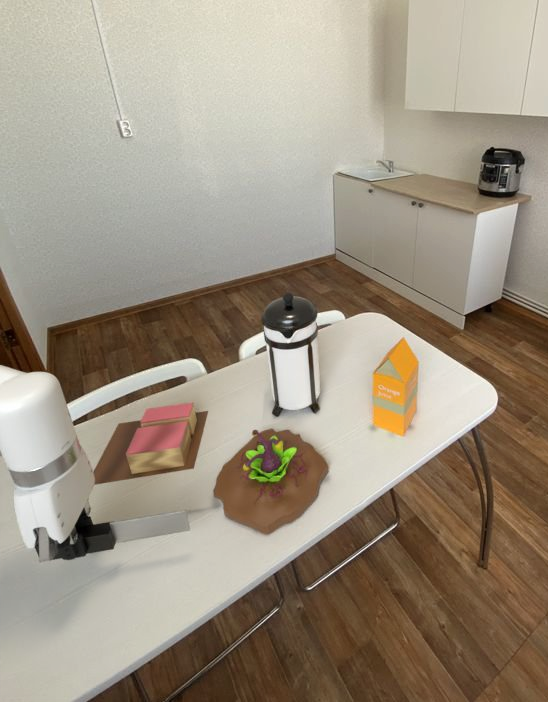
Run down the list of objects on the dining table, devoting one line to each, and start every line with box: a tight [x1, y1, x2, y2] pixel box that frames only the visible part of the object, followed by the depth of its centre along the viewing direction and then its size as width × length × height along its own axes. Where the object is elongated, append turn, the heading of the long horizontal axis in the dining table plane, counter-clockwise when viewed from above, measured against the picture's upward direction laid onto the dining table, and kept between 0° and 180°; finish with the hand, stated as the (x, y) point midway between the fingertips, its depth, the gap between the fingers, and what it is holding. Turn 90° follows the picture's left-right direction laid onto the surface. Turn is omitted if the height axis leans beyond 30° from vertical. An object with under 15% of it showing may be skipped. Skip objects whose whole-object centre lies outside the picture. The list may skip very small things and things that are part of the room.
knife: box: [34, 509, 191, 561], centre depth 59 cm, size 21×2×4 cm, turn 100°
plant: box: [212, 428, 329, 536], centre depth 74 cm, size 20×20×11 cm
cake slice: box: [140, 402, 197, 435], centre depth 86 cm, size 10×4×6 cm, turn 100°
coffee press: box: [260, 292, 321, 418], centre depth 93 cm, size 17×16×30 cm
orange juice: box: [372, 336, 420, 437], centre depth 87 cm, size 8×9×20 cm
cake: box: [93, 410, 209, 486], centre depth 83 cm, size 20×16×6 cm
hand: (79, 545), depth 59 cm, fingers closed on knife, 2 cm apart
